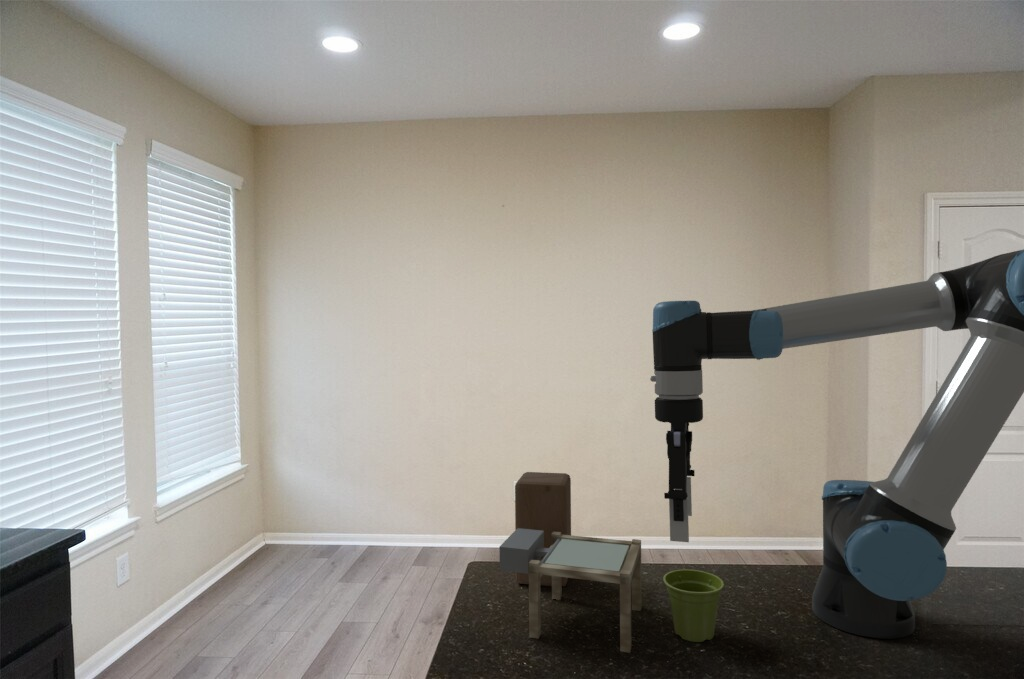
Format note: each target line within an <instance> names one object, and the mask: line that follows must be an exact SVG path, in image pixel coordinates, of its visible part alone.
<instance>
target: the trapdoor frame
mask: <svg viewBox="0 0 1024 679" xmlns="http://www.w3.org/2000/svg"><path fill="white" fill-rule="evenodd" d="M557 539H560V540H561V539H569V540H579V541H589V542H599V543H609V544H619V545H629V552H628V555H627V558H626V560H625V563H624V566H623V568H622V570H621V571H620V572H615V571H606V570H597V569H588V568H579V567H570V566H562V565H553V564H544V563H540V562H541V561H542V559H543V558H544V557H542V558H541V560H540V561H539V560H531V561H530V562H529V584H528V613H529V614H528V615H529V616H528V619H529V620H528V621H529V622H528V627H529V628H528V629H529V632H528V634H529V638H532V639H536V640H539V638H540V637H541V635H542V628H541V626H542V625H541V624H542V623H541V622H542V621H541V619H542V616H541V615H542V612H541V611H542V608H541V606H542V604H541V603H542V602H541V585H540V578H541V576H542V575H550V576H552V586H551V600H553V599H556V601H561V600H562V598H561V597H562V596H563V592H562V590H563V589H562V577H567V578H568V579H579V580H584V581H585V580H586V581H593V582H602V583H610V584H612V583H613V584H619V644H620V645H619V646H620V647H619V651H620V652H623V653H628V654H630V653H631V652H632V651H631V650H632V611H639V612H641V610H642V606H643V605H642V604H643V603H642V596H643V595H642V590H643V589H642V540H641V539H636V538H635V539H634V538H633V539H631V540H622V539H612V538H603V537H602V538H601V537H600V538H599V537H592V536H583V535H581V536H580V535H572V534H571V535H562V534H561V532H553V533H552V534H551V546H550V548H551V547H552V546H553V544H554V543H555V542H556V540H557Z"/></svg>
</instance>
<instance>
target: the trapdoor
mask: <svg viewBox="0 0 1024 679" xmlns="http://www.w3.org/2000/svg"><path fill="white" fill-rule="evenodd" d="M628 552H629V545H619V544H609V543H599V542H589V541H579V540H569V539H561V540H560V539H557V540H556V542H555V543H554V544H553V546H552V547H551V548H544V531H541V530H531V529H521V528H517V529H516V530H514V531H513V532H512V533H511V534H510V535H509V536H508V537H507V538H506V539H505V540H504V541H503V542H502V543H501V544H500V545H499V571H501V572H502V571H503V572H509V573H510V572H511V573H516V572H518V573H526V574H528V573H529V562H530V561H531V560H539V559H540V557H541V556H543V557H544V558H543V559H542V561H541V562H540V563H544V564H553V565H562V566H570V567H579V568H588V569H597V570H606V571H615V572H620V571H621V570H622V568H623V566H624V563H625V560H626V558H627V555H628Z"/></svg>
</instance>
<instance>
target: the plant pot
mask: <svg viewBox="0 0 1024 679" xmlns="http://www.w3.org/2000/svg"><path fill="white" fill-rule="evenodd" d="M662 579H663V582H664V585H666V591H667V593H668V598H669V603H670V607H671V608H670V609H671V614H672V615H671V616H672V621H673V622H672V623H673V629H674V630H673V631H674V633H675V634H676V635H678V636H679V637H681V639H682V640H685V641H688V642H693V643H694V642H695V643H703V642H704V641H706V640H709V641H711V640H712V639H713V638H714V636H715V629H716V622H717V621H716V620H717V612H718V605H719V603H718V602H719V598H720V597H721V592H722V591H723V589H724V586H725V584H724V583H725V582H724V581H723V579H722V578H720V577H719V576H717V575H715V574H713V573H711V572H708V571H703V570H698V569H676V570H671V571H668V572H667V573H665V574H664V576H663V578H662Z"/></svg>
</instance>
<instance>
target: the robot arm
mask: <svg viewBox="0 0 1024 679" xmlns="http://www.w3.org/2000/svg"><path fill="white" fill-rule="evenodd" d="M935 327H936V328H938V329H940V330H941V331H943V332H950V331H957V330H966V329H967V330H969V332H970V337H969V339H968V340H967V342H966V344H965V345H964V347H963V348H962V350H961V352H960V353H959V355H958V357H957V359H956V361H955V362H954V364H953V365H952V367H951V369H950V371H949V372H948V374H947V376H946V378H945V379H944V381H943V382H942V384H941V386H940V388H939V389H938V391H937V393H936V394H935V396H934V397H933V400H932V401H931V403H930V405H929V407H928V408H927V410H926V412H925V414H924V415H923V416H922V418H921V420H920V421H919V424H918V425H917V427H916V428H915V430H914V432H913V434H912V436H911V437H910V439H909V441H908V442H907V444H906V445H905V447H904V449H903V451H901V454H900V456H899V457H898V459H897V460H896V462H895V464H894V466H893V467H892V469H891V470H890V472H889V474H888V475H887V477H886V478H884V479H881V480H878V481H871V480H856V479H853V480H852V479H831V480H828V481H826V482H825V483H824V484H823V487H822V488H823V489H822V491H823V492H822V496H821V500H822V532H823V533H822V543H823V544H822V545H823V546H822V547H823V548H822V554H823V555H822V556H823V557H822V561H823V562H822V563H823V564H822V568H821V571H820V573H819V576H818V578H817V581H816V584H815V587H814V590H813V592H812V596H811V610H812V612H813V614H814V615H815V616H816V617H817V618H818V619H819V620H821V621H822V622H824V623H825V624H827V625H829V626H831V627H833V628H836V629H837V630H841V631H843V632H846V633H850V634H854V635H857V636H861V637H868V638H874V639H882V640H883V639H901V638H905V637H906V638H907V637H908V636H910V635H913V633H914V632H915V630H916V614H915V611H914V607H913V604H912V602H911V601H913V600H914V601H915V600H919V599H923V598H925V597H927V596H929V595H930V594H932V593H935V591H936V590H937V589H938V588H939V587H940V586H941V585H942V583H943V582H944V579H945V578H946V574H947V571H948V570H947V569H948V566H947V565H948V564H947V563H948V562H947V557H946V553H945V548H946V546H947V545H948V543H949V542H950V540H951V538H952V537H953V535H954V534H955V532H956V530H957V526H956V523H955V522H954V519H953V516H952V512H953V511H952V510H953V508H955V505H956V504H957V502H958V501H959V499H960V497H961V496H962V494H963V493H964V491H965V489H966V487H967V486H968V484H969V483H970V481H971V479H972V477H973V476H974V475H975V473H976V471H977V469H978V467H979V466H980V464H981V463H982V462H983V459H984V458H985V456H986V454H987V453H988V452H989V450H990V448H991V447H992V445H993V443H994V441H995V440H996V439H997V437H998V435H999V433H1000V432H1001V430H1002V428H1003V427H1004V425H1005V424H1006V423H1007V420H1008V419H1009V417H1010V415H1011V414H1012V412H1013V411H1014V409H1015V407H1016V406H1017V404H1018V402H1019V401H1020V399H1021V397H1022V396H1023V394H1024V248H1023V249H1019V250H1016V251H1015V250H1014V251H1011V252H1007V253H1002V254H997V255H995V256H992V257H989V258H987V259H983V260H980V261H978V262H975V263H972V264H969V265H965V266H963V267H958V268H955V269H951V270H950V269H949V270H945V271H941V272H933V273H932V274H931V275H930V276H929V277H928V278H927V279H926V280H923V281H917V282H912V283H908V284H907V283H905V284H900V285H894V286H889V287H883V288H878V289H872V290H866V291H865V290H864V291H859V292H855V293H854V292H853V293H848V294H842V295H841V294H840V295H835V296H830V297H829V296H828V297H824V298H818V299H813V300H806V301H801V302H800V301H799V302H794V303H789V304H783V305H778V306H777V305H776V306H772V307H766V308H760V309H753V310H741V311H738V310H737V311H736V310H735V311H721V312H711V311H709V312H707V311H702V308H701V304H700V302H699V301H697V300H671V301H670V300H669V301H667V300H666V301H661V302H658V303H656V304H655V305H654V307H653V310H652V350H653V351H652V352H653V354H652V355H653V370H654V373H653V374H654V375H651V376H650V380H649V381H651V382H652V383H653V382H655V383H654V394H655V395H657V396H658V397H655V399H654V418H655V419H656V421H658V422H660V423H669V424H670V430H667V431H666V432H667V433H665V434H666V435H665V441H666V442H665V443H666V445H667V448H666V450H667V451H666V453H667V455H666V456H667V459H668V492H664V493H663V494H664V499H668V503H669V504H668V506H669V509H668V510H669V512H668V513H669V540H670V542H679V543H681V542H682V543H689V542H690V538H689V537H690V536H689V534H690V533H689V531H690V530H689V525H690V524H689V517H692V516H693V514H692V513H693V510H692V505H693V504H692V477H695V476H696V475H695V469H691V468H692V465H691V452H692V444H693V430H689V426H690V424H693V423H698V422H699V423H700V422H701V421H702V420H703V418H704V406H703V404H704V403H703V402H704V400H703V399H702V397H700V396H701V395H702V394H703V392H704V391H703V386H704V385H703V384H704V382H703V368H702V366H703V365H702V360H712V359H713V360H714V359H715V360H717V359H718V360H721V359H722V360H751V359H753V360H755V359H756V361H760V360H763V359H776V358H779V357H780V356H781V354H782V353H783V350H785V349H789V348H798V347H804V346H810V345H811V346H812V345H818V344H819V345H820V344H825V343H832V342H839V341H847V340H853V339H860V338H868V337H873V336H880V335H886V334H887V335H888V334H893V333H894V334H895V333H899V332H900V333H902V332H907V331H914V330H915V331H916V330H920V329H922V330H923V329H927V328H935Z"/></svg>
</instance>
